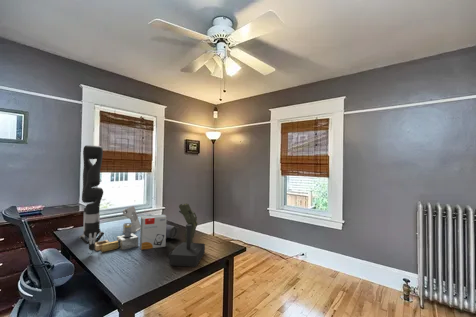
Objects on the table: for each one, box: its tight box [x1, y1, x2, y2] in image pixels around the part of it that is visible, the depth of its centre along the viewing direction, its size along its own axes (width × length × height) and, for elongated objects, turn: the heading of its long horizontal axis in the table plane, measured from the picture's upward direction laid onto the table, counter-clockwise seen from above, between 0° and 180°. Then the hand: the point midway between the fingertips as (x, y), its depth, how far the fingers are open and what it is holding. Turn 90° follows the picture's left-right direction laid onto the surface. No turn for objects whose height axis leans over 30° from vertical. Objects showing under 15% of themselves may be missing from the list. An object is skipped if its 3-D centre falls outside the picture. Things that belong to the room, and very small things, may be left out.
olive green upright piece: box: [178, 203, 198, 243], centre depth 150 cm, size 14×7×30 cm, turn 71°
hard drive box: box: [139, 214, 167, 251], centre depth 151 cm, size 16×8×20 cm, turn 117°
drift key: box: [100, 240, 119, 253], centre depth 144 cm, size 2×9×4 cm, turn 135°
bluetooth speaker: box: [166, 224, 178, 240], centre depth 169 cm, size 23×9×10 cm, turn 68°
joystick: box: [168, 223, 206, 268], centre depth 132 cm, size 19×17×20 cm
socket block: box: [116, 233, 139, 251], centre depth 151 cm, size 10×10×6 cm
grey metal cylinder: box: [124, 224, 132, 239], centre depth 151 cm, size 4×4×14 cm
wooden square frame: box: [94, 239, 110, 252], centre depth 148 cm, size 8×8×3 cm
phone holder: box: [122, 206, 141, 234], centre depth 187 cm, size 17×10×18 cm, turn 178°
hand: (91, 249), depth 137 cm, fingers closed
